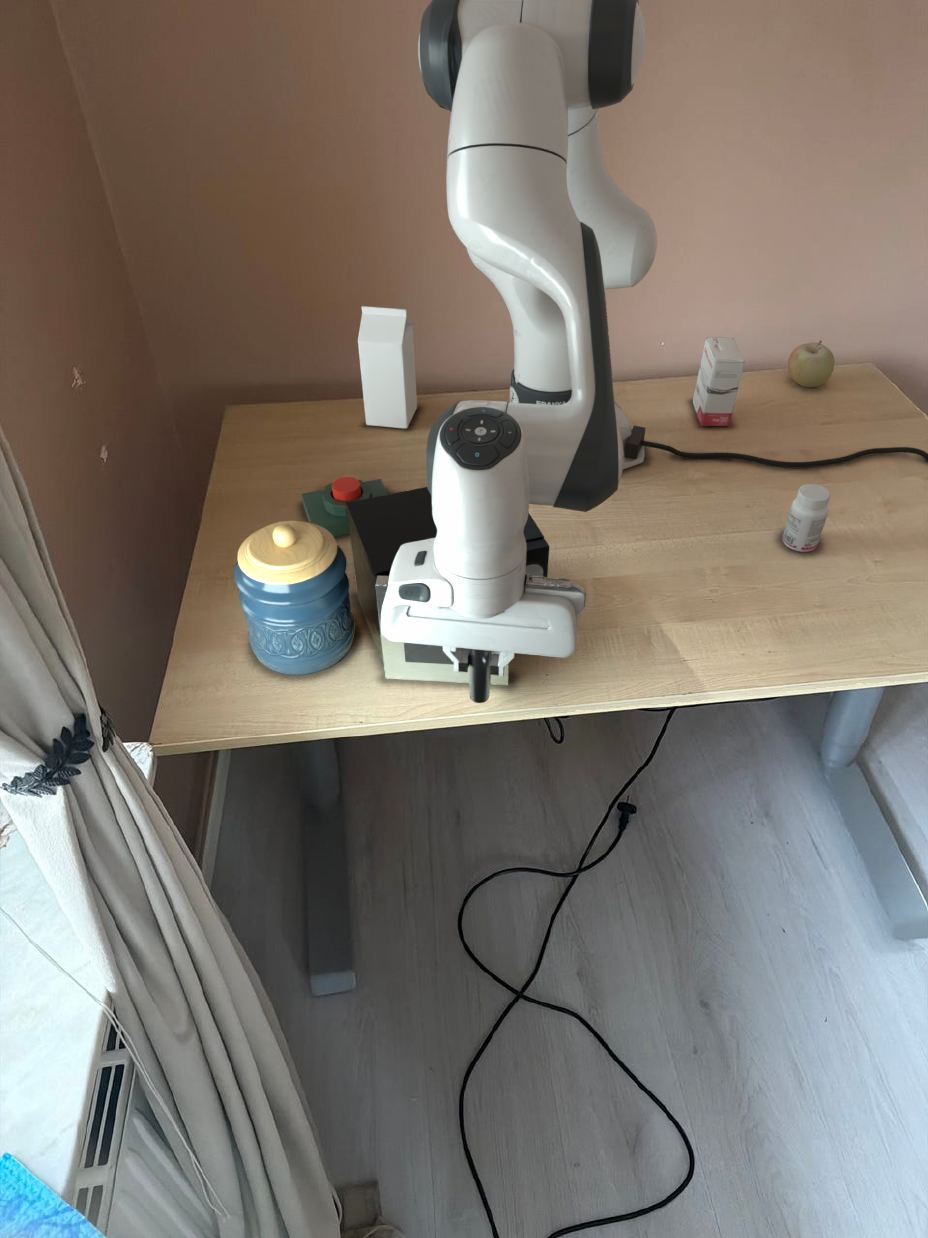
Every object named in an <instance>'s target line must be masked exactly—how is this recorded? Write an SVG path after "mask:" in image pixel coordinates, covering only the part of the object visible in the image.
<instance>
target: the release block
mask: <svg viewBox="0 0 928 1238" xmlns="http://www.w3.org/2000/svg"><path fill="white" fill-rule="evenodd" d="M356 479H357V480H359V482H360V488H361V495H360V497H359V498H358V499H356V500H354V501H357V500H362V499H367V498H372V497H377V496H383V495H388V494H389V493H388V491H387V489H386V487H385V485H384V483H383V480H382V479H381V478H376V479H372V480H365V481H363V480H361V479H358V478H356ZM332 483H333V482H330V483H329V484H327V485H326V486H325V487H324V489H320V490H314V491H308V492H304V493H303V492H302V493H301V500H302V505H303V510H304V512H305V516H306V518H307V520H308V521H307V522H308V523H313V524H316V525H319V526H321V527H323V528H325V529H326V530H328V531H329V532H330V533H331V534H332V535H333V536H334V538H337V537H341V536H347V535H350V530H349V522H348V514H347V506H346V503H347V502H342V501H337V500H335V499H334V497H333V491H332ZM348 502H352V501H348Z"/></svg>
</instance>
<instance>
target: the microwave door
mask: <svg viewBox="0 0 928 1238" xmlns="http://www.w3.org/2000/svg"><path fill="white" fill-rule="evenodd" d="M388 581H389V576H377V580H376V584H375V586H376V596H377V605H378V615H379V624H380V633H381V643H382V652H383V662H384V667H383V670H384V679H387V680H404V681H405V680H406V681H422V682H423V681H424V682H439V683H456V684H457V683H459V684H469V698H470V700H471V701H472V702H474V703H476V704H483V703H486V702H487V701H488V700H489V699H490V693H491V685H493V686H494V685H495V686H509V677H510V676H509V675H510V669H509V668H510V662H509V663H508V664H507V665H506V666H505V670H504V676H495V675H490V663H491V657H492V654H500V653H501V652H498V651H488V650H478V649H467V648H461V649H462V651H469V667H468V673H465V672H454V662H452V660H451V659H450V658H449V657H448V656H447V655H446V654H445V652H444V651H443V646H436V645H425V644H415V643H405V642H393V641H390V640H388V639H387V638H386V637H385V636H384V635H383V634H382V632H381V612H382V605H383V602H384V598H385V595H386V591H387V588H388Z"/></svg>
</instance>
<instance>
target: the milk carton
mask: <svg viewBox="0 0 928 1238" xmlns="http://www.w3.org/2000/svg"><path fill="white" fill-rule="evenodd" d="M359 324H360V325H359V329H358V336H357V346H358V357H359V366H360V376H361V386H362V387H361V388H362V396H363V397H362V398H363V406H364V416H365V417H364V418H365V425H367V426H374V427H385V428H393V429H396V428H397V429H408V428H409V425H410V424H411V421H412V419H413V417H414V415H415V413H416V410H417V408H418V397H417V395H418V394H417V377H416V359H415V343H414V342H415V341H414V340H415V339H414V324H413V323H412V322H411V320H410V319H409V317H408V316H407V308H395V307H393V308H392V307H382V306H381V307H380V306H379V307H378V306H369V305H368V306H366V305H362V306H361V317H360V323H359Z"/></svg>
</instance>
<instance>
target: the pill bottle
mask: <svg viewBox="0 0 928 1238" xmlns="http://www.w3.org/2000/svg"><path fill="white" fill-rule="evenodd" d="M830 497H831V493H830V491H829V490H828V489H827V488H826V487H825V486H822V485H820V484H816V483H807V484H803V485H801V486H800V487H799V488H798V491H797V495H796V498H794V500H793V501H792V503H791V505H790V509H789V513H788V516H787V520H786V524H785V527H784V531H783V534H782V542H783V544H784V546H786V547H787V548H789V549H790V550H793V551H796V552H799V553H806V552H807V553H808V552H813V551H814V550H815V549H816V548H817V547H818V545H819V542H820V540H821V536H822V535H823V530H824V528H825V524H826V522H827V521H826V520H827V518H828V514H829V505H828V504H829V501H830Z"/></svg>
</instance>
